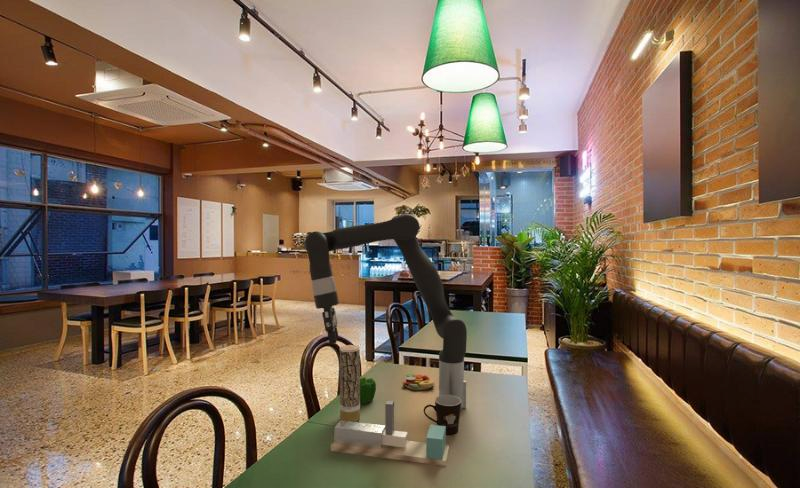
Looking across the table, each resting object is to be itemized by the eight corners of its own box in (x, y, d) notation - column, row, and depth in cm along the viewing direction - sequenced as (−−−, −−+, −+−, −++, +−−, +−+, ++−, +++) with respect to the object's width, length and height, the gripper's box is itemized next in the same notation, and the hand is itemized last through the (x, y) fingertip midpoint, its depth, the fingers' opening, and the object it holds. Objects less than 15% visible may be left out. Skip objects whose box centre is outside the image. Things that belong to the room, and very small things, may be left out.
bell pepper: (364, 394, 157) (364, 369, 157) (380, 400, 152) (379, 374, 152) (349, 401, 150) (349, 375, 150) (364, 407, 145) (364, 380, 145)
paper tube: (356, 425, 131) (356, 351, 131) (337, 423, 133) (336, 349, 132) (362, 416, 138) (362, 345, 138) (344, 414, 139) (343, 344, 139)
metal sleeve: (334, 443, 117) (334, 427, 117) (340, 435, 122) (340, 420, 122) (381, 449, 114) (381, 433, 114) (385, 440, 118) (385, 425, 118)
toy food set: (435, 392, 160) (435, 384, 160) (402, 391, 160) (402, 384, 160) (432, 380, 174) (432, 372, 173) (402, 380, 174) (402, 372, 174)
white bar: (343, 439, 117) (343, 400, 117) (347, 435, 120) (346, 396, 120) (405, 447, 113) (405, 406, 113) (407, 442, 116) (407, 402, 116)
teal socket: (426, 457, 109) (426, 437, 109) (430, 443, 117) (430, 424, 117) (442, 459, 108) (442, 439, 108) (445, 445, 116) (445, 426, 116)
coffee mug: (463, 426, 130) (463, 396, 130) (458, 439, 122) (458, 407, 122) (429, 421, 134) (429, 392, 134) (422, 433, 126) (422, 402, 126)
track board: (330, 450, 116) (330, 445, 116) (340, 437, 124) (340, 432, 123) (445, 466, 108) (445, 460, 108) (449, 450, 116) (449, 445, 116)
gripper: (334, 290, 122) (344, 342, 121) (338, 289, 136) (347, 335, 135) (310, 295, 121) (320, 347, 120) (316, 293, 135) (325, 340, 134)
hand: (334, 341), depth 128 cm, fingers open, 8 cm apart
